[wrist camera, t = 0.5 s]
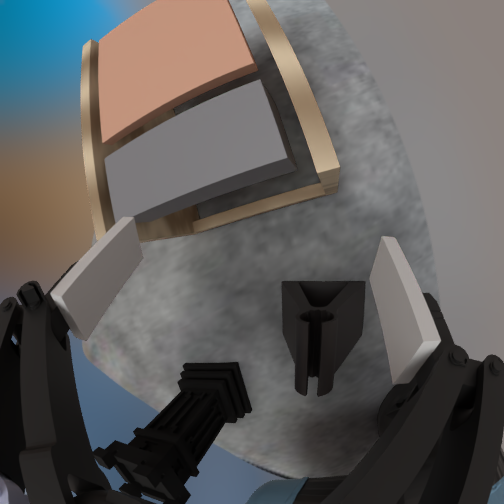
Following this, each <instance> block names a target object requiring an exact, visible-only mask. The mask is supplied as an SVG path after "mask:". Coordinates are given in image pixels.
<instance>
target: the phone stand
mask: <svg viewBox="0 0 504 504" xmlns="http://www.w3.org/2000/svg"><path fill="white" fill-rule="evenodd" d="M364 302H365V281H325V282H322V281H283V282H282V319H283V335H284V338H285V340H286V343H287V345H288V348H289V350H290V353H291V355H292V358H293V361H294V363H295V389H296V391H297V392H298V393H300V394H301V395H304V396H306V395H307V389H308V376H310V377H314V376H317V377H318V390H317V395H318V397H319V396H323V395H325V394H327V393H329V392H330V391H331V390H332V388H333V379H334V373H335V372H336V371H337V369H338V368H339V367H340V365H341V364H342V362H343V361H344V360H345V358H346V357H347V356H348V354H349V353H350V351H351V350H352V349H353V347H354V346H355V344H356V343H357V341H358V340H359V338H360V337H361V335H362V329H363V317H364Z"/></svg>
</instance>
